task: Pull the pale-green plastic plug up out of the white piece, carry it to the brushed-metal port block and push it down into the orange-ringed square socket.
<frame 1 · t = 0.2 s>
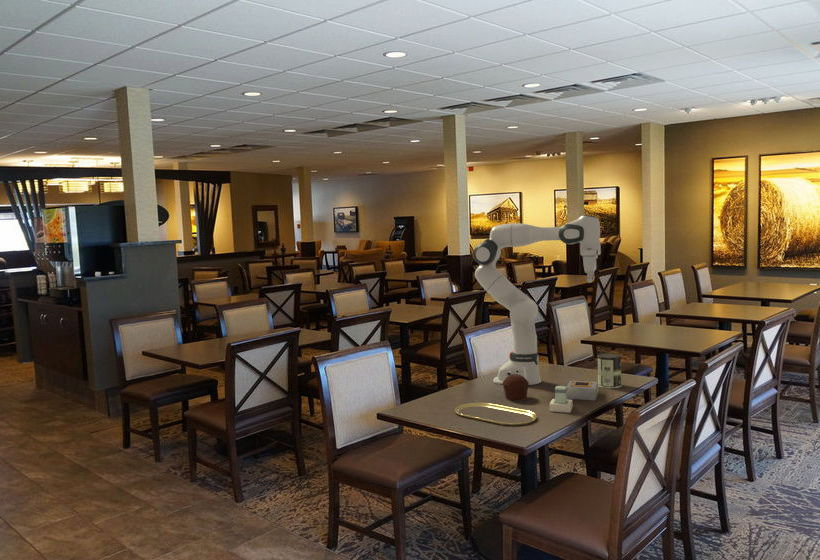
hand: (590, 281, 290), 48 cm above the table, fingers open, 8 cm apart
coffee can: (609, 386, 292), on the table
plug: (561, 398, 258), in the white piece
muffin: (515, 398, 278), on the table
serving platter: (494, 416, 254), on the table
white piece: (561, 409, 258), on the table
port: (582, 395, 277), on the table
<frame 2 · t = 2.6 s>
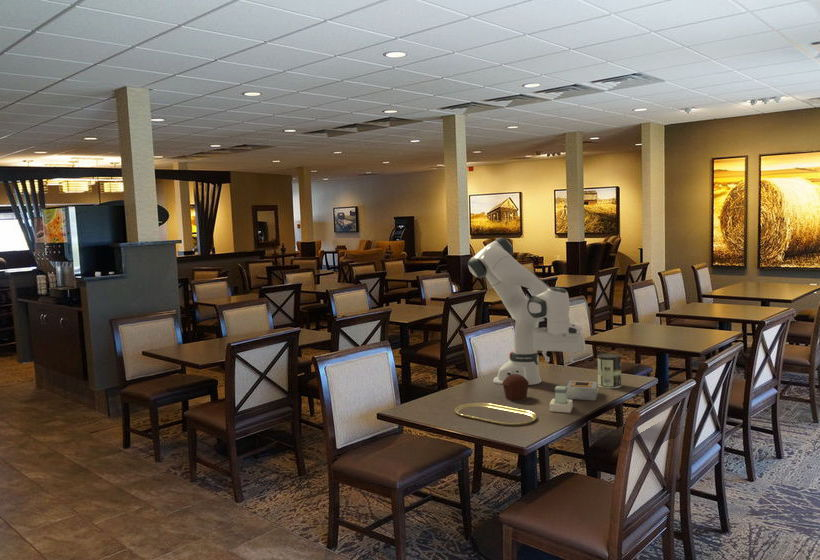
hand: (559, 362, 257), 19 cm above the table, fingers open, 8 cm apart
nothing on the table moved.
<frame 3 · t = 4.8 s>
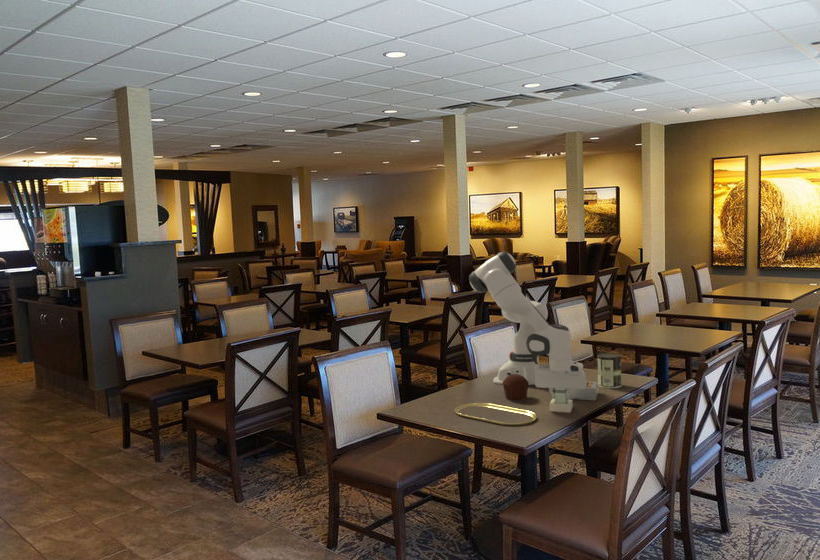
hand: (561, 399, 258), 4 cm above the table, fingers closed on plug, 4 cm apart
plug: (561, 398, 258), in the white piece, touching gripper
everything else where it was.
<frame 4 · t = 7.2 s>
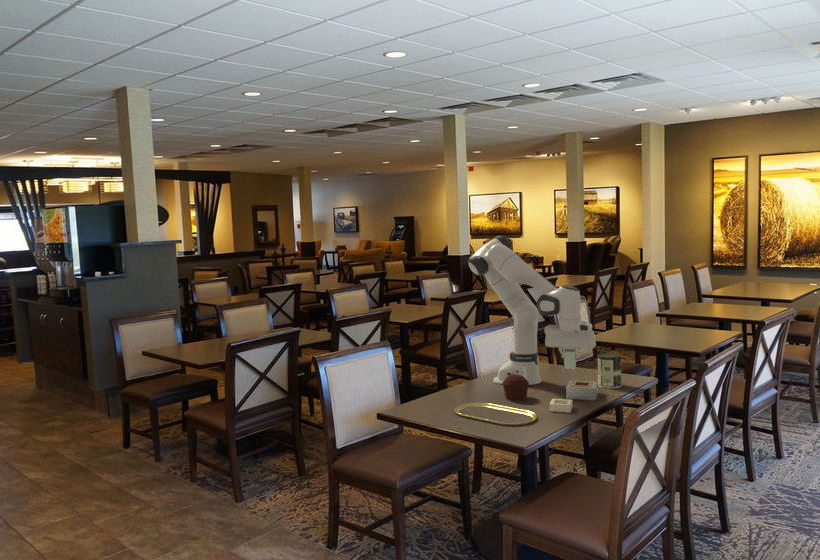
hand: (570, 358, 265), 19 cm above the table, fingers closed on plug, 4 cm apart
plug: (570, 357, 265), point 19 cm above the table, touching gripper
everything else where it was.
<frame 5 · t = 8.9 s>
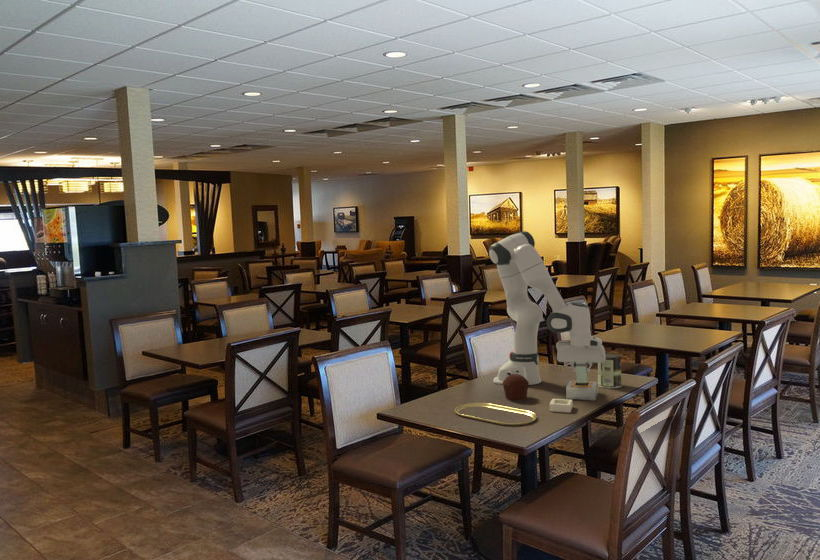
hand: (581, 372, 275), 10 cm above the table, fingers closed on plug, 4 cm apart
plug: (581, 371, 275), point 11 cm above the table, touching gripper
everything else where it was.
when the fingers open (7 cm above the table, at t = 10.0 s): plug drops 2 cm, resting on port.
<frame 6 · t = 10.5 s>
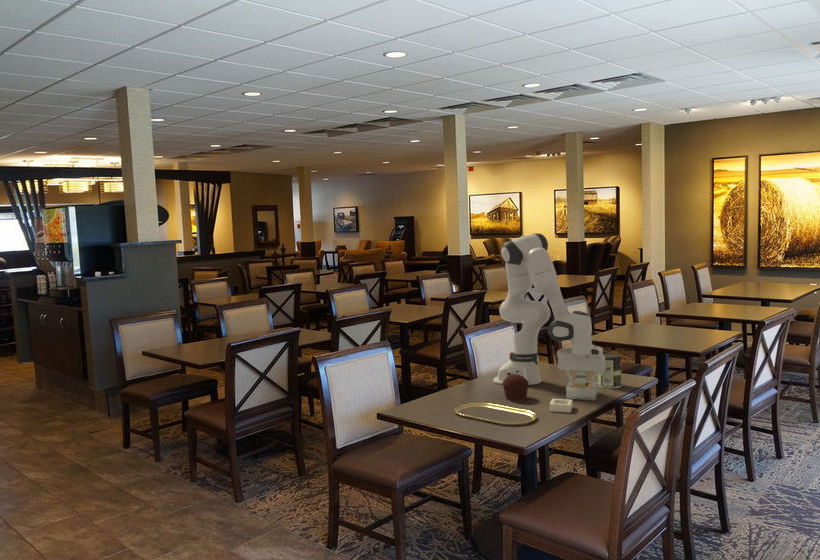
hand: (581, 380, 276), 7 cm above the table, fingers open, 8 cm apart
plug: (581, 383, 277), in the port, point 6 cm above the table
everything else where it was.
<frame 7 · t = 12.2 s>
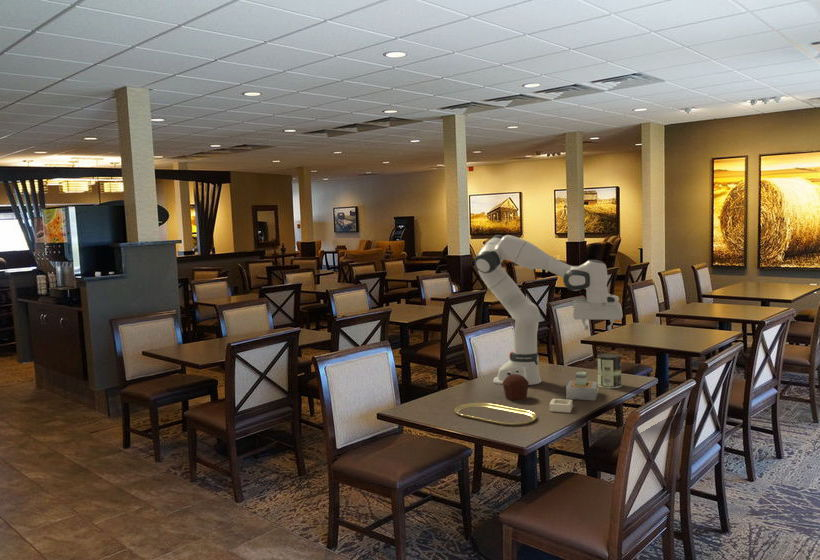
hand: (598, 329, 275), 28 cm above the table, fingers open, 8 cm apart
nothing on the table moved.
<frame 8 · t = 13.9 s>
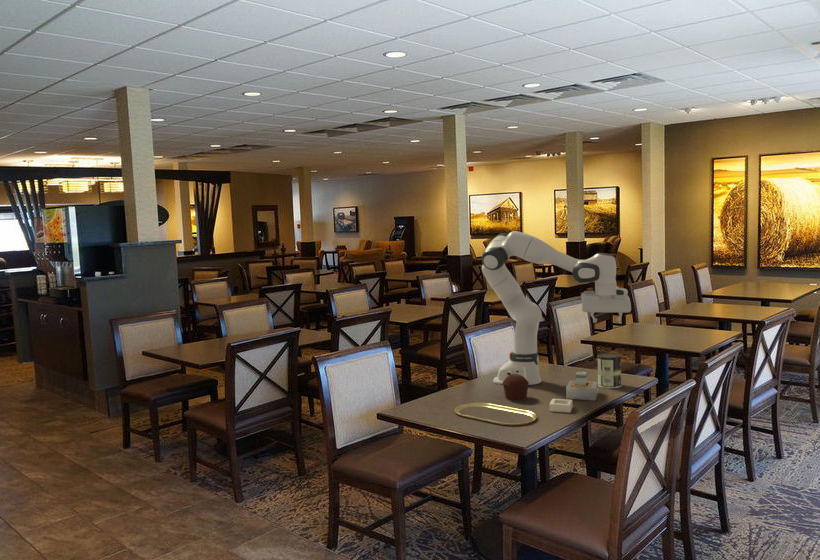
hand: (606, 322, 276), 31 cm above the table, fingers open, 8 cm apart
nothing on the table moved.
at the end: plug 0.4 cm off-centre on the port, point 5.5 cm above the port's base; plug tilted 0°; the gripper is holding nothing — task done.
